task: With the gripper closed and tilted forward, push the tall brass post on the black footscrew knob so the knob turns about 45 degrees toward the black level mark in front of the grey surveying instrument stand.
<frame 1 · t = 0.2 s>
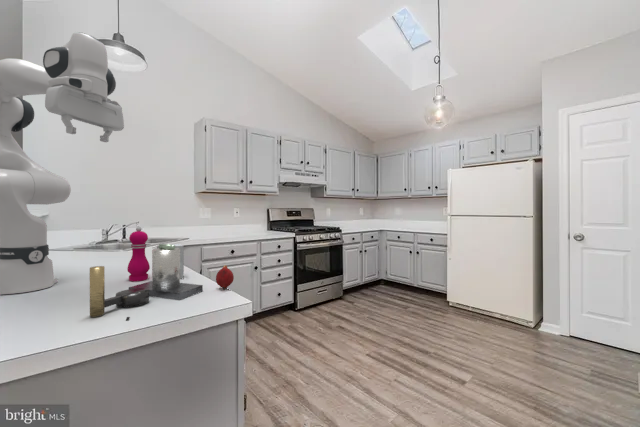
hand: (88, 137, 87), 48 cm above the counter, tool pointing down, fingers open, 8 cm apart
onion: (224, 289, 101), on the counter
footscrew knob: (120, 284, 80), point 6 cm above the counter, hinge at 0.0°
small box: (170, 279, 114), on the counter
instrument stand: (166, 292, 96), on the counter
pepper mill: (138, 280, 112), on the counter
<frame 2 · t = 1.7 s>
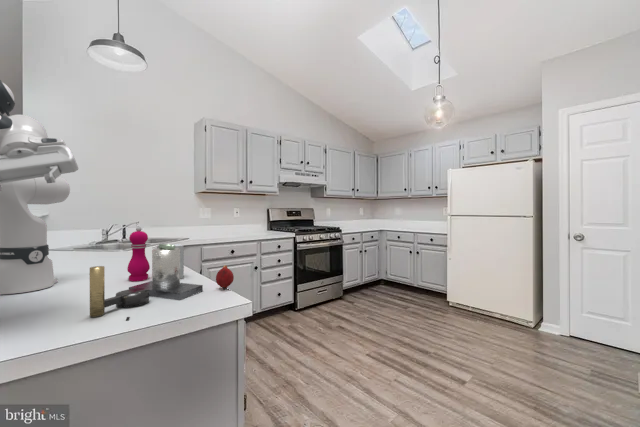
hand: (23, 184, 67), 32 cm above the counter, tool tilted 55°, fingers open, 8 cm apart
nothing on the counter moved.
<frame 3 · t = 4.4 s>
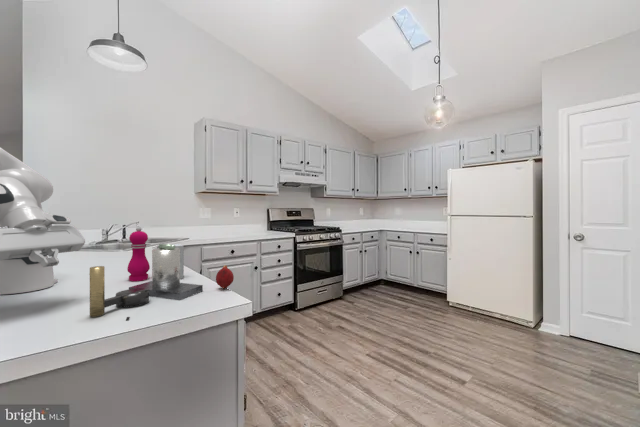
hand: (51, 264, 77), 12 cm above the counter, tool tilted 45°, fingers closed
nothing on the counter moved.
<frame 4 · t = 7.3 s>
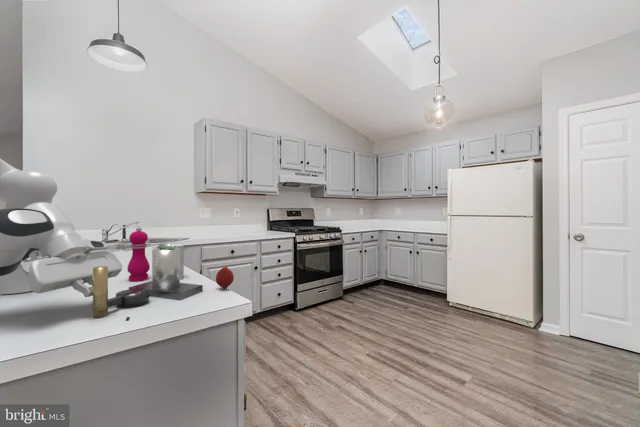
hand: (93, 294, 75), 5 cm above the counter, tool tilted 45°, fingers closed, pressing on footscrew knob
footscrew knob: (121, 285, 80), point 6 cm above the counter, hinge at 6.1°, touching gripper
everything else where it was.
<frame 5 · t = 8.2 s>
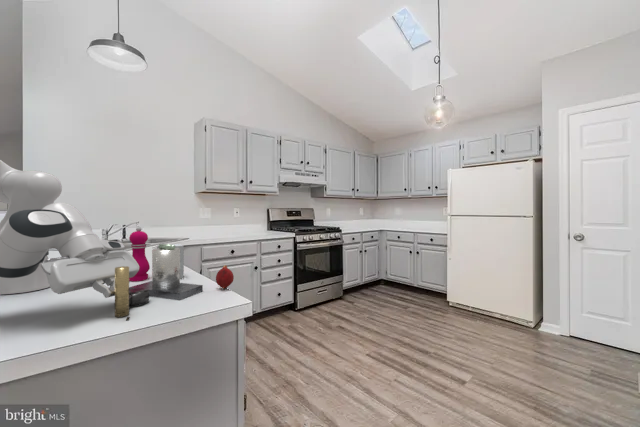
hand: (112, 295, 74), 5 cm above the counter, tool tilted 45°, fingers closed
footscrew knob: (129, 284, 80), point 6 cm above the counter, hinge at 36.3°, touching gripper
everything else where it was.
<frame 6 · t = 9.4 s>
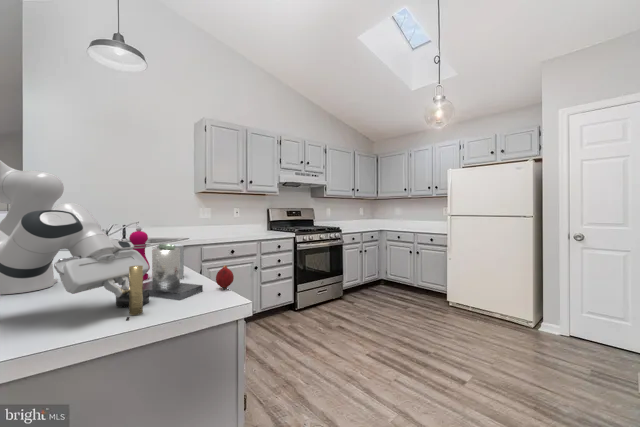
hand: (124, 294, 75), 5 cm above the counter, tool tilted 45°, fingers closed
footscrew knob: (134, 284, 81), point 6 cm above the counter, hinge at 53.5°, touching gripper
everything else where it was.
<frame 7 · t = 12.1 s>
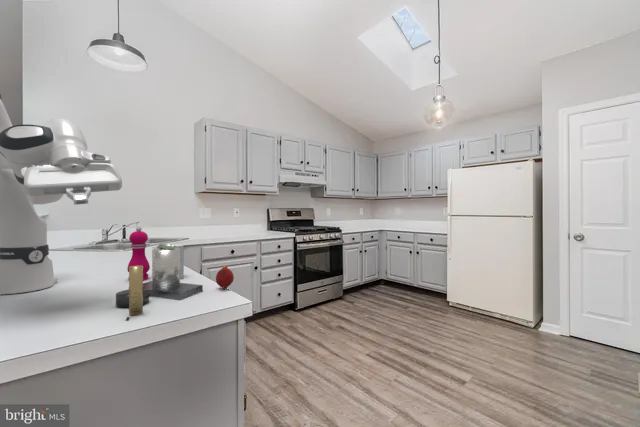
hand: (81, 202, 77), 29 cm above the counter, tool tilted 40°, fingers closed
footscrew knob: (134, 284, 81), point 6 cm above the counter, hinge at 53.5°
everything else where it was.
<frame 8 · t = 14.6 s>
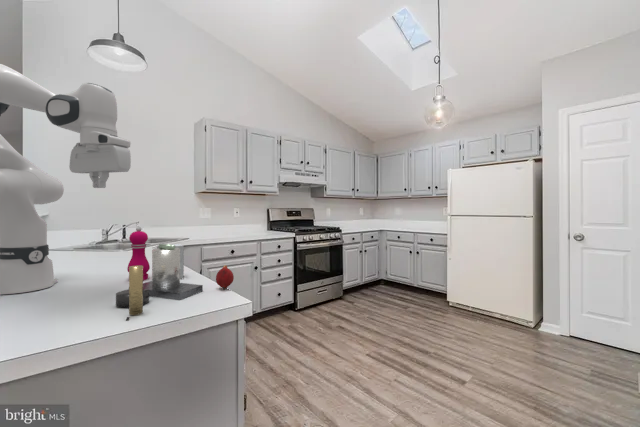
hand: (99, 187, 87), 33 cm above the counter, tool pointing down, fingers closed
nothing on the counter moved.
at the end: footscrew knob at +54° (first picture: +0°); pepper mill moved 0.2 cm from its start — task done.
